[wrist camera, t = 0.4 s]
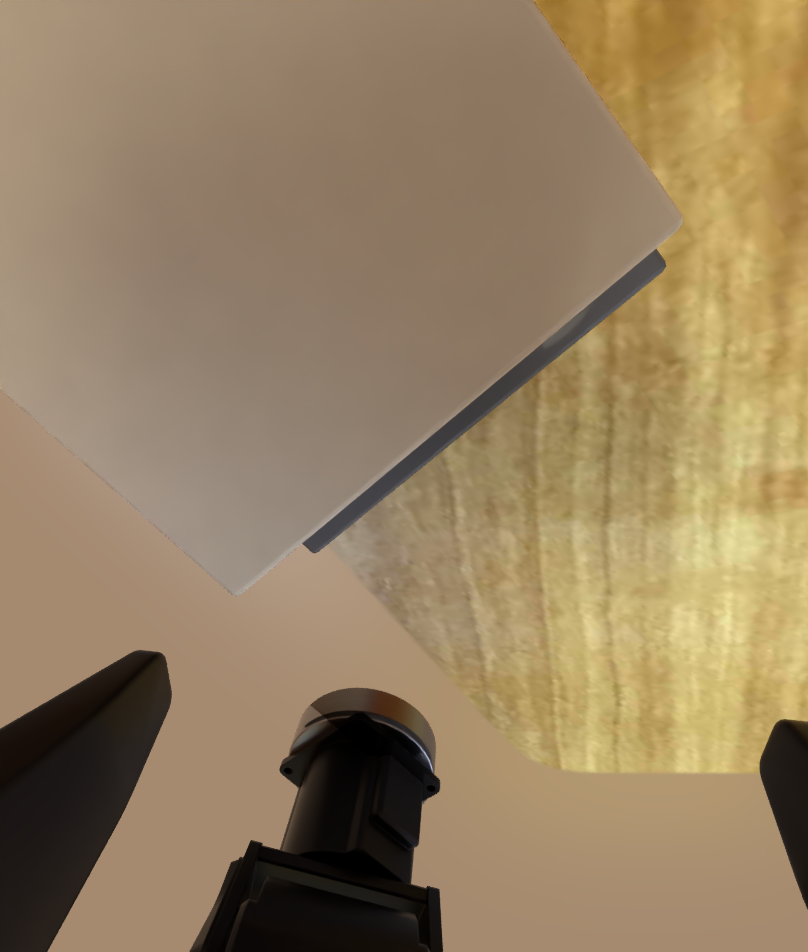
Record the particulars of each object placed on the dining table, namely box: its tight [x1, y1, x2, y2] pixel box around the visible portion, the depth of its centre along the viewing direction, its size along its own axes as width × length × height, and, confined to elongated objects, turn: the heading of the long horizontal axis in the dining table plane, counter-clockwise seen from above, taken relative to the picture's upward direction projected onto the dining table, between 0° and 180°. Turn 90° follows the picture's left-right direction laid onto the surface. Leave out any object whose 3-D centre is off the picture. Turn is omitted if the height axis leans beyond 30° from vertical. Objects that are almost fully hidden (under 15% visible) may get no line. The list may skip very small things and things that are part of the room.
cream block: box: [0, 0, 683, 596], centre depth 6 cm, size 6×10×2 cm, turn 43°
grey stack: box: [302, 249, 666, 553], centre depth 12 cm, size 7×12×11 cm, turn 43°
